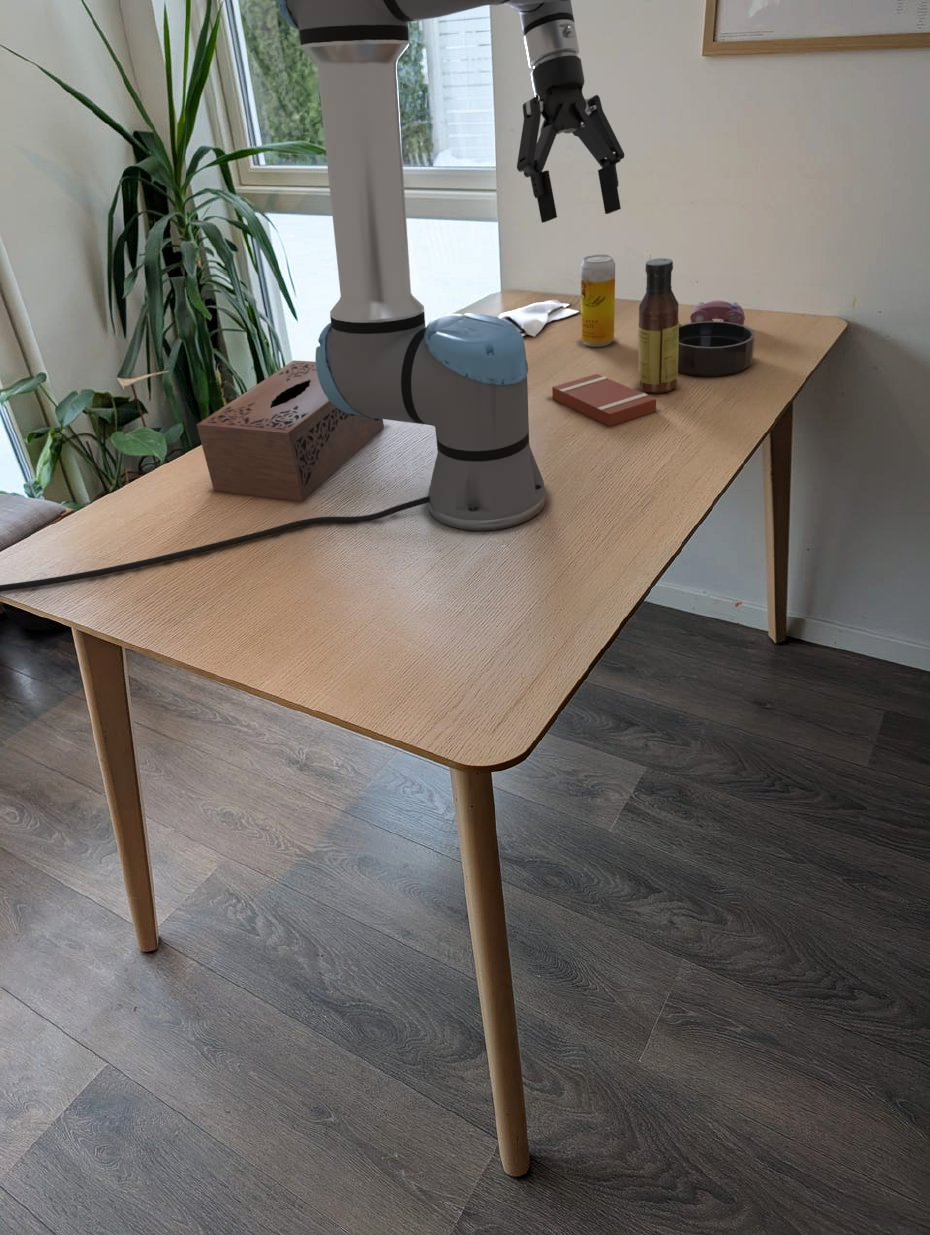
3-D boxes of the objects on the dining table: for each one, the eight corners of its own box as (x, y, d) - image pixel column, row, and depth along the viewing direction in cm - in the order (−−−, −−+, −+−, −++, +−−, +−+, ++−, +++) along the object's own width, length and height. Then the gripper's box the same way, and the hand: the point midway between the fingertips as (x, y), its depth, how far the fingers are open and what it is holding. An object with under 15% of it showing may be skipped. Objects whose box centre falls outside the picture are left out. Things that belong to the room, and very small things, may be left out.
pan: (706, 384, 145) (708, 354, 142) (649, 362, 155) (650, 333, 153) (769, 363, 150) (773, 334, 148) (710, 344, 161) (712, 316, 158)
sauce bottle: (675, 380, 148) (682, 254, 136) (678, 394, 142) (687, 264, 131) (635, 381, 148) (639, 256, 137) (637, 395, 143) (641, 267, 132)
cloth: (537, 300, 192) (536, 289, 191) (591, 307, 185) (591, 296, 183) (462, 335, 176) (461, 323, 175) (518, 344, 169) (518, 332, 167)
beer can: (575, 341, 168) (574, 258, 159) (602, 335, 170) (603, 252, 161) (592, 349, 163) (592, 264, 155) (620, 343, 165) (622, 258, 156)
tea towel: (609, 426, 134) (609, 413, 133) (552, 398, 145) (551, 386, 144) (656, 411, 137) (656, 398, 136) (596, 385, 148) (596, 373, 147)
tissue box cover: (301, 501, 121) (287, 433, 116) (213, 490, 126) (196, 424, 121) (383, 427, 141) (375, 365, 135) (304, 420, 146) (293, 360, 140)
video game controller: (688, 339, 168) (688, 311, 162) (690, 322, 170) (691, 293, 164) (742, 340, 165) (745, 311, 159) (744, 322, 167) (747, 293, 161)
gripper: (506, 52, 121) (537, 216, 127) (631, 52, 134) (655, 201, 140) (474, 74, 128) (505, 230, 133) (597, 72, 141) (620, 214, 146)
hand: (582, 216), depth 137 cm, fingers open, 13 cm apart
